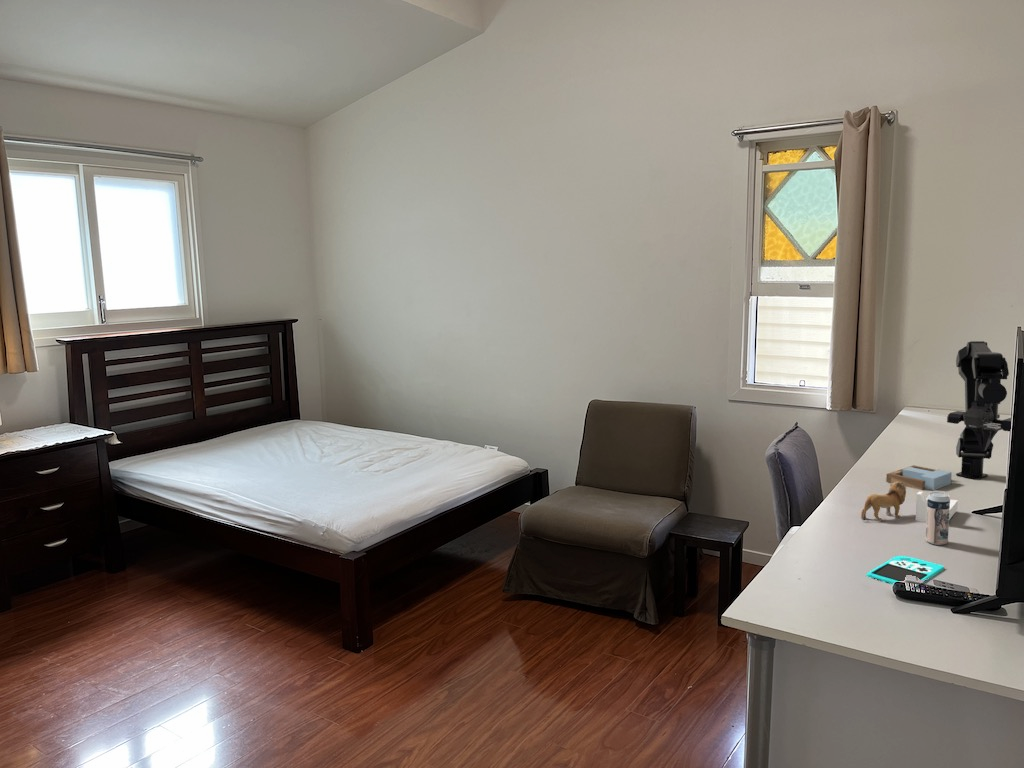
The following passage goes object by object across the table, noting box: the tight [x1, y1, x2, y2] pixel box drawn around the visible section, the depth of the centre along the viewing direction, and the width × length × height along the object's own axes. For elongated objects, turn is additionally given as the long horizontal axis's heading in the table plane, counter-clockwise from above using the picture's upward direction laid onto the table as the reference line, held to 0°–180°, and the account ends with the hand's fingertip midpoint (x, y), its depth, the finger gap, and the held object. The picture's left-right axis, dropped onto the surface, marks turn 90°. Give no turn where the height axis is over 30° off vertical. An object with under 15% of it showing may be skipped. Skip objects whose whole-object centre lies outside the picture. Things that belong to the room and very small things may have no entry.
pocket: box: [885, 465, 937, 491], centre depth 229 cm, size 15×11×2 cm
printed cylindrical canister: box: [925, 491, 951, 546], centre depth 180 cm, size 5×5×12 cm
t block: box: [902, 466, 953, 491], centre depth 227 cm, size 10×11×4 cm
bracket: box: [915, 490, 959, 523], centre depth 198 cm, size 13×7×8 cm, turn 139°
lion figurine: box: [860, 481, 907, 522], centre depth 199 cm, size 15×5×9 cm, turn 115°
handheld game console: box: [865, 555, 945, 585], centre depth 165 cm, size 10×16×1 cm, turn 129°
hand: (983, 450), depth 216 cm, fingers closed
